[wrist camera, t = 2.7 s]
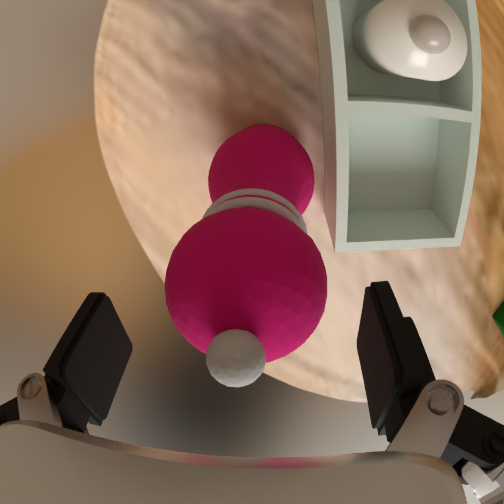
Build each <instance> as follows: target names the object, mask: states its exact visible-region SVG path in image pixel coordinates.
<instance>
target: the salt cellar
mask: <svg viewBox="0 0 504 504" xmlns="http://www.w3.org/2000/svg"><path fill="white" fill-rule="evenodd" d="M352 42H353V46H354V48H355V51H356V53H357V54H358V56H359V57H360V59H361V60H362V61H363V62H364V63H365V64H366V65H367V66H369V67H370V68H371V69H373V70H375V71H377V72H379V73H383V74H387V75H395V76H403V77H410V78H417V79H423V80H429V81H441V80H446V79H448V78H450V77H452V76H454V75H455V74H456V73H457V72H458V71H459V70H460V69H461V67H462V66H463V64H464V62H465V59H466V55H467V37H466V33H465V30H464V27H463V25H462V23H461V21H460V19H459V17H458V16H457V14H456V13H455V12H454V10H453V9H452V8H451V7H450V6H449V5H448V4H447V3H446V2H444V1H443V0H384V1H382V2H380V3H379V4H377V5H375V6H373V7H372V8H370V9H368V10H366V11H365V12H363V13H362V14H361V15H359V17H358V18H357V19H356V21H355V22H354V25H353V28H352Z"/></svg>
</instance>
